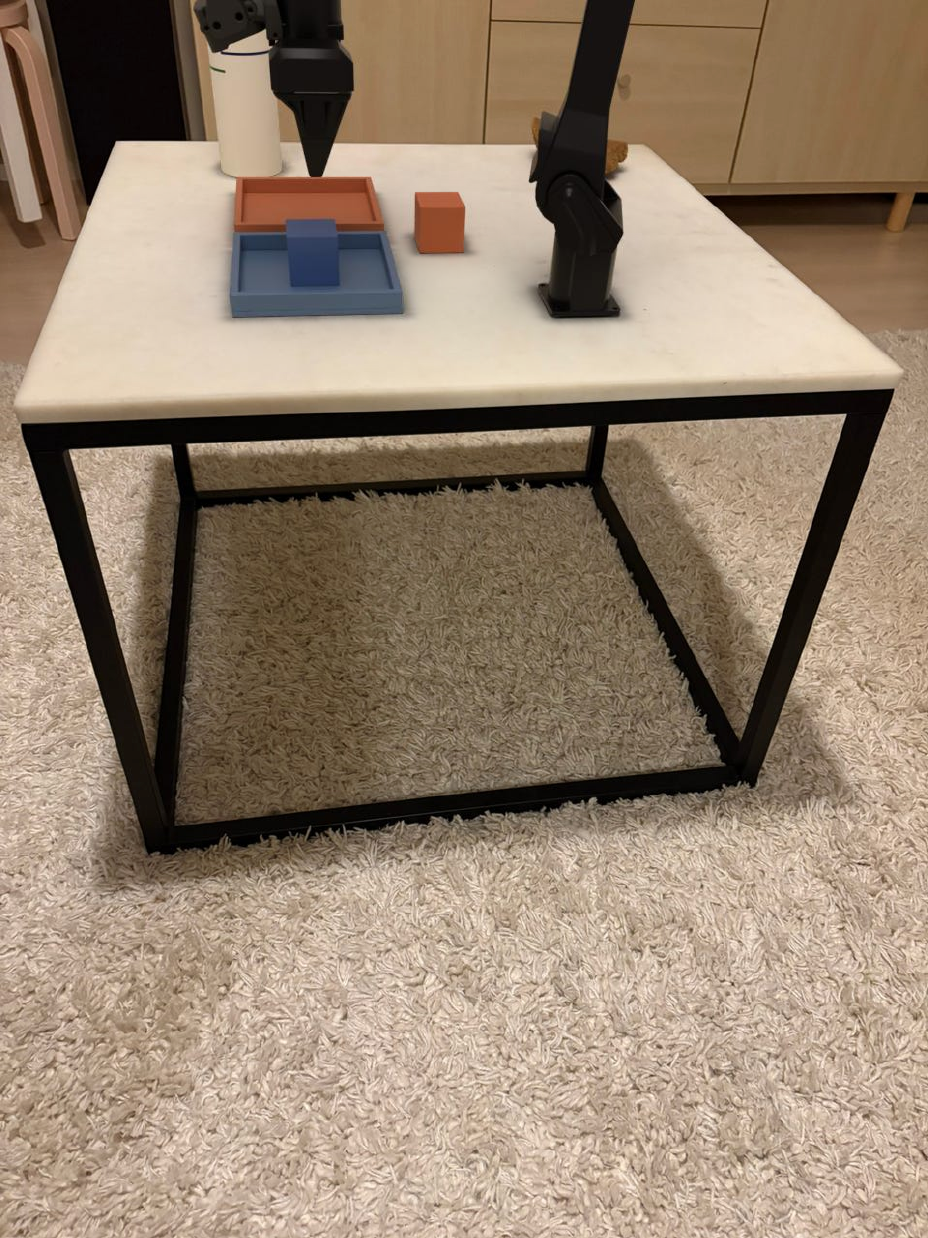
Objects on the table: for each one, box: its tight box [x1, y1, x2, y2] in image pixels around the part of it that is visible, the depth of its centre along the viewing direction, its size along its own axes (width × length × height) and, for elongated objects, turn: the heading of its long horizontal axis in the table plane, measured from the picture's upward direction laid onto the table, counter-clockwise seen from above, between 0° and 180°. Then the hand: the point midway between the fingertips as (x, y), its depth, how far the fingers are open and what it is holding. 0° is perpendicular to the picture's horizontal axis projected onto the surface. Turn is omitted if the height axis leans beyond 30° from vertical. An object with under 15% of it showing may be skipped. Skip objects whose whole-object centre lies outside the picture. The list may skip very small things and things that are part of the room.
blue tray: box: [229, 230, 404, 318], centre depth 88 cm, size 15×15×2 cm
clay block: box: [413, 191, 466, 254], centre depth 95 cm, size 4×4×4 cm
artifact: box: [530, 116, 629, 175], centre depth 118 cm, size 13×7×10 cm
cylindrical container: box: [206, 29, 283, 178], centre depth 104 cm, size 7×7×25 cm
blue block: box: [286, 219, 340, 286], centre depth 86 cm, size 4×4×4 cm
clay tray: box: [233, 176, 385, 233], centre depth 100 cm, size 15×15×2 cm
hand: (313, 159), depth 82 cm, fingers open, 9 cm apart
